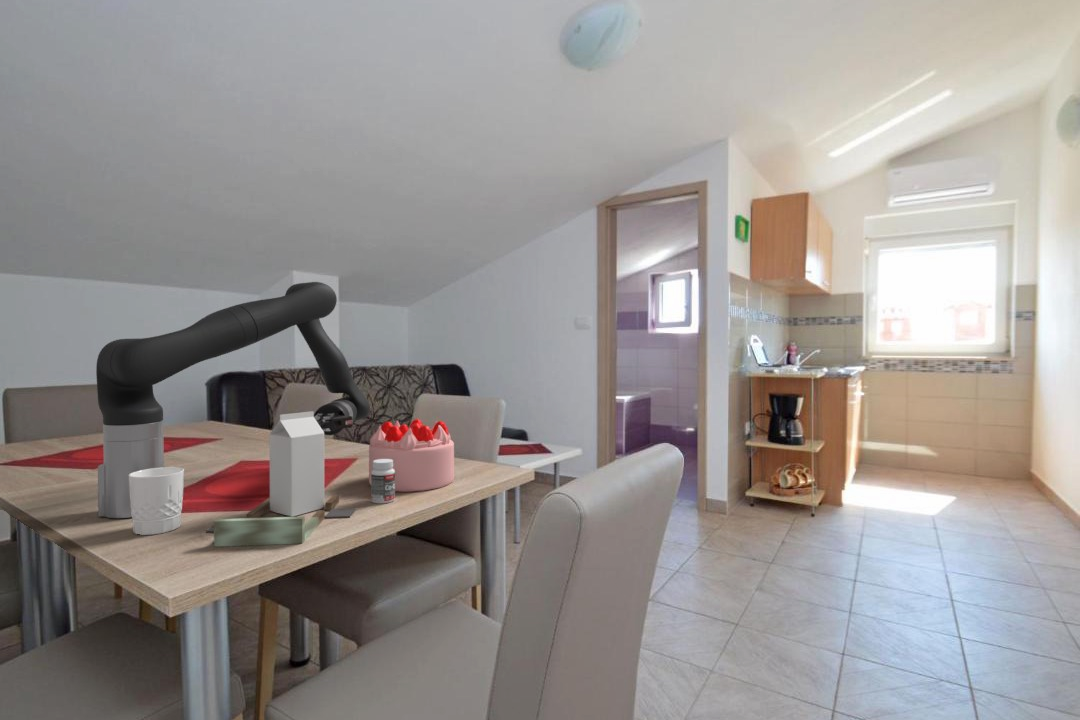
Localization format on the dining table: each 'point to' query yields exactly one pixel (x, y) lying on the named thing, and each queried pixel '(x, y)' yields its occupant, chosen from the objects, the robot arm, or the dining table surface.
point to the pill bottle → (383, 481)
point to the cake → (415, 454)
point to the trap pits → (332, 514)
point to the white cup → (156, 499)
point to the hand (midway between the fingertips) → (313, 428)
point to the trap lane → (267, 527)
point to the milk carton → (296, 465)
